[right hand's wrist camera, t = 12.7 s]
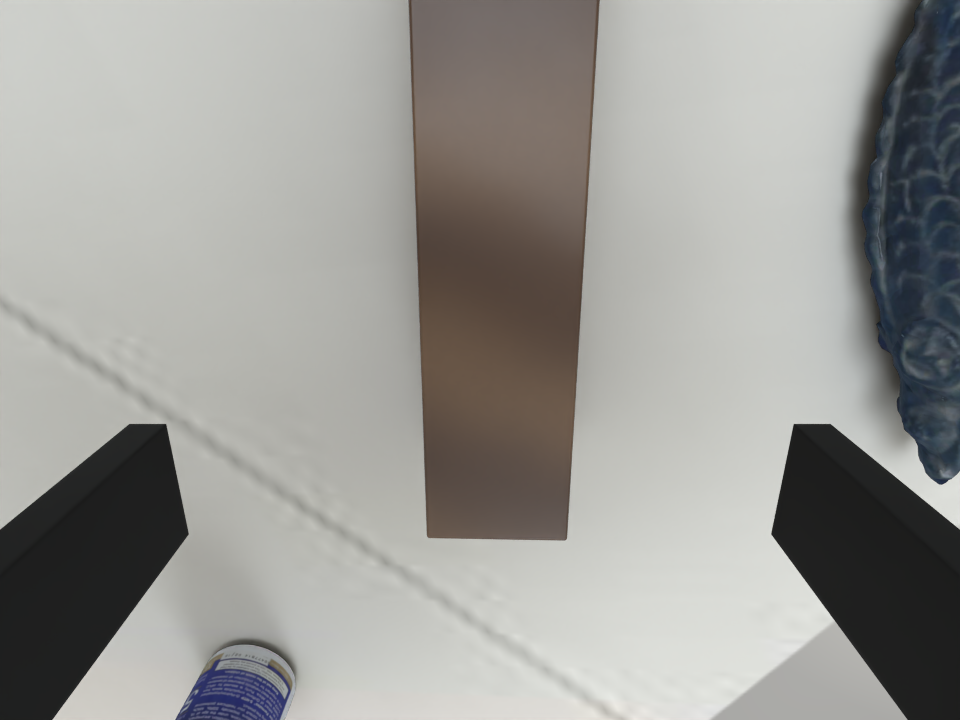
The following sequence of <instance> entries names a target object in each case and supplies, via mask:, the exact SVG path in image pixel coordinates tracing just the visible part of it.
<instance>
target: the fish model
mask: <svg viewBox="0 0 960 720" xmlns="http://www.w3.org/2000/svg"><path fill="white" fill-rule="evenodd" d="M914 19H915V25H914V28H913V30H912V32H911V34H910V35H909V36H908V38H907V39H906V41H905V43H904V44H903V46H902V48H901V49H900V51H899V53H898V55H897V58H896V61H895V65H896V74H897V75H896V76H895V78H894V79H893V81H892V82H891V83H890V85H889V86H888V89H887V91H886V94H885V96H884V98H883V101H882V107H883V120H882V123H881V126H880V128H879V130H878V132H877V134H876V137H875V146H876V153H877V158H876V159H875V160H874V161H873V162H872V163H871V166H870V173H869V177H868V190H869V195H870V196H869V200H868V203H867V204H866V206H865V208H864V209H863V212H862V218H863V222H864V225H865V228H866V232H867V235H866V239H865V243H864V247H865V253H866V257H867V259H868V260H869V262H870V264H871V266H872V275H871V279H870V281H871V286H872V288H873V291H874V293H875V297H876V300H877V303H878V306H879V309H880V321H879V322H878V324H876V325H877V327H878V329H879V331H880V332H879V337H878V342H879V344H880V346H881V347H882V349H884V350H886V351H888V352H890V353H891V354H892V356H893V364H894V367H895V368H896V370H897V371H898V374H899V378H900V395H899V397H898V399H897V408H898V412H899V413H900V415H901V417H902V422H903V425H904V430H905V431H907V432H908V433H909V434H910V435H911V436H912V437H913V438H914V439H915V441H916V443H917V445H918V456H919V459H920V461H921V462H922V464H923V466H924V469H925V472H926V474H927V475H928V476H929V477H930V478H931V479H933V480H934V481H935V482H937V483H938V484H941V485H942V484H944V483H946V482H947V481H948V480H950V479H952V478H953V477H954V476H955V475H957V474H958V472H959V471H960V0H922V2H921V3H920V5H919V6H918V8H917V9H916V10H915V15H914Z"/></svg>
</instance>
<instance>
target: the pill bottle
mask: <svg viewBox="0 0 960 720" xmlns="http://www.w3.org/2000/svg"><path fill="white" fill-rule="evenodd" d="M295 688H296V682H295V677H294V674H293V672H292V670H291V668H290V667H289V665H288V664H287V663H286V662H285V661H284V660H283V659H282V658H281V657H280V656H279V655H277V654H276V653H274V652H272V651H270V650H268V649H265V648H263V647H259V646H255V645H234V646H230V647H227V648H224V649H222V650H220V651H218V652H217V653H216V654H214V655H213V656H212V657H211V658H210V660H209V661H208V663H207V664H206V666H205V668H204V669H203V671H202V673H201V675H200V677H199V678H198V680H197V682H196V684H195V686H194V687H193V689H192V691H191V693H190V695H189V696H188V698H187V700H186V702H185V703H184V705H183V707H182V709H181V710H180V712H179V714H178V716H177V718H176V719H175V720H285V718H286V715H287V713H288V710H289V708H290V705H291V702H292V699H293V696H294V693H295Z"/></svg>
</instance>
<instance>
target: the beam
mask: <svg viewBox="0 0 960 720" xmlns="http://www.w3.org/2000/svg"><path fill="white" fill-rule="evenodd" d="M599 2H600V0H409V24H410V53H411V82H412V112H413V141H414V170H415V199H416V229H417V258H418V287H419V316H420V346H421V375H422V404H423V433H424V463H425V492H426V521H427V536H428V538H460V539H515V540H566V539H567V530H568V513H569V497H570V480H571V464H572V447H573V431H574V414H575V398H576V381H577V365H578V348H579V332H580V315H581V299H582V282H583V266H584V249H585V233H586V216H587V200H588V183H589V167H590V150H591V134H592V117H593V101H594V84H595V68H596V51H597V35H598V18H599Z"/></svg>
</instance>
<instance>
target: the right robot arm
mask: <svg viewBox="0 0 960 720" xmlns="http://www.w3.org/2000/svg"><path fill="white" fill-rule="evenodd" d="M188 534H189V533H188V528H187V523H186V519H185V514H184V509H183V504H182V499H181V494H180V489H179V484H178V480H177V475H176V470H175V465H174V460H173V455H172V450H171V445H170V441H169V436H168V431H167V426H166V424H129V425H128V426H127V427H125V428H124V429H123V430H122V431H120V432H119V433H118V434H117V435H116V436H114V437H113V438H112V439H111V440H109V441H108V442H107V443H106V444H105V445H103V446H102V447H101V448H100V449H98V450H97V451H96V452H95V453H94V454H92V455H91V456H90V457H89V458H87V459H86V460H85V461H84V462H83V463H81V464H80V465H79V466H78V467H76V468H75V469H74V470H73V471H71V472H70V473H69V474H68V475H67V476H65V477H64V478H63V479H62V480H60V481H59V482H58V483H57V484H56V485H54V486H53V487H52V488H51V489H49V490H48V491H47V492H46V493H45V494H43V495H42V496H41V497H40V498H38V499H37V500H36V501H35V502H34V503H32V504H31V505H30V506H29V507H27V508H26V509H25V510H24V511H23V512H21V513H20V514H19V515H18V516H16V517H15V518H14V519H13V520H11V521H10V522H9V523H8V524H7V525H5V526H4V527H3V528H2V529H0V720H52V719H53V718H54V717H55V715H56V714H57V713H58V711H59V710H60V709H61V707H62V706H63V704H64V703H65V702H66V700H67V699H68V698H69V696H70V695H71V694H72V692H73V691H74V690H75V688H76V687H77V685H78V684H79V683H80V681H81V680H82V679H83V677H84V676H85V675H86V673H87V672H88V670H89V669H90V668H91V666H92V665H93V664H94V662H95V661H96V660H97V658H98V657H99V656H100V654H101V653H102V651H103V650H104V649H105V647H106V646H107V645H108V643H109V642H110V641H111V639H112V638H113V636H114V635H115V634H116V632H117V631H118V630H119V628H120V627H121V626H122V624H123V623H124V622H125V620H126V619H127V617H128V616H129V615H130V613H131V612H132V611H133V609H134V608H135V607H136V605H137V604H138V602H139V601H140V600H141V598H142V597H143V596H144V594H145V593H146V592H147V590H148V589H149V588H150V586H151V585H152V583H153V582H154V581H155V579H156V578H157V577H158V575H159V574H160V573H161V571H162V570H163V568H164V567H165V566H166V564H167V563H168V562H169V560H170V559H171V558H172V556H173V555H174V553H175V552H176V551H177V549H178V548H179V547H180V545H181V544H182V543H183V541H184V540H185V539H186V537H187V536H188ZM771 534H772V536H773V537H774V539H775V540H776V541H777V543H778V544H779V545H780V547H781V548H782V549H783V551H784V552H785V554H786V555H787V556H788V558H789V559H790V560H791V562H792V563H793V564H794V566H795V567H796V568H797V570H798V571H799V573H800V574H801V575H802V577H803V578H804V579H805V581H806V582H807V583H808V585H809V586H810V588H811V589H812V590H813V592H814V593H815V594H816V596H817V597H818V598H819V600H820V601H821V602H822V604H823V605H824V607H825V608H826V609H827V611H828V612H829V613H830V615H831V616H832V617H833V619H834V620H835V622H836V623H837V624H838V626H839V627H840V628H841V630H842V631H843V632H844V634H845V635H846V636H847V638H848V639H849V641H850V642H851V643H852V645H853V646H854V647H855V649H856V650H857V651H858V653H859V654H860V655H861V657H862V658H863V659H864V661H865V662H866V664H867V665H868V666H869V668H870V669H871V670H872V672H873V673H874V675H875V676H876V677H877V679H878V680H879V681H880V683H881V684H882V685H883V687H884V688H885V689H886V691H887V692H888V694H889V695H890V696H891V698H892V699H893V700H894V702H895V703H896V704H897V706H898V707H899V709H900V710H901V711H902V713H903V714H904V715H905V717H906V718H907V719H908V720H960V529H958V528H957V527H956V526H955V525H953V524H952V523H951V522H950V521H949V520H947V519H946V518H945V517H944V516H942V515H941V514H940V513H939V512H937V511H936V510H935V509H934V508H933V507H931V506H930V505H929V504H928V503H926V502H925V501H924V500H923V499H922V498H920V497H919V496H918V495H917V494H915V493H914V492H913V491H912V490H911V489H909V488H908V487H907V486H906V485H904V484H903V483H902V482H901V481H900V480H898V479H897V478H896V477H895V476H893V475H892V474H891V473H890V472H889V471H887V470H886V469H885V468H884V467H882V466H881V465H880V464H879V463H877V462H876V461H875V460H874V459H873V458H871V457H870V456H869V455H868V454H866V453H865V452H864V451H863V450H862V449H860V448H859V447H858V446H857V445H855V444H854V443H853V442H852V441H851V440H849V439H848V438H847V437H846V436H844V435H843V434H842V433H841V432H840V431H838V430H837V429H836V428H835V427H833V426H832V425H831V424H794V426H793V431H792V436H791V441H790V445H789V450H788V455H787V460H786V465H785V470H784V475H783V480H782V484H781V489H780V494H779V499H778V504H777V509H776V514H775V519H774V523H773V528H772V533H771Z"/></svg>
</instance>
